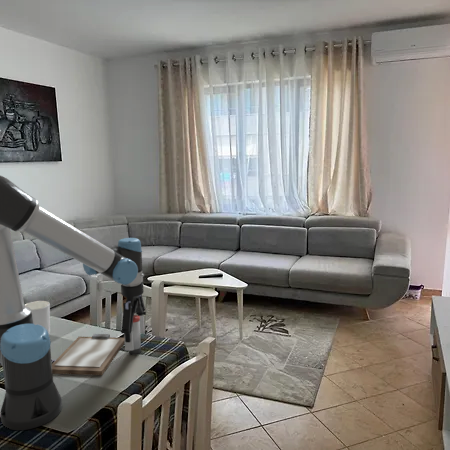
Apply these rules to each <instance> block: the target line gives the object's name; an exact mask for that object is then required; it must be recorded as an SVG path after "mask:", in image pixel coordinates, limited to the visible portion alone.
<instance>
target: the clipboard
mask: <svg viewBox="0 0 450 450" xmlns="http://www.w3.org/2000/svg"><path fill="white" fill-rule="evenodd" d="M124 346H125V340H124V337H113V336H111V335H110V334H109V333H107V334H106V333H105V334H104V333H93V334H92V336H78V337H76V339H75V340H74V341H73V342H72V343H71V344H70V345H69V346H68V347H67V348H66V349H65V350H64V351H63V352H62V353H61V354H60V355H59V356H58V358H56V359H55V360H54V361H53V362H52V374H54V375H77V376H78V375H79V376H80V375H81V376H103V375H104V374H105V372H106V371H107V369H108V368H109V366H110V365H111V364H112V362H113V361H114V360H115V358H116V356H117V355H118V354H119V352H120V350H121V349H122V348H123V347H124Z"/></svg>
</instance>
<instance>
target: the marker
mask: <svg viewBox="0 0 450 450" xmlns="http://www.w3.org/2000/svg"><path fill="white" fill-rule="evenodd" d="M132 331H133V347H134V350H133V351H130V350H128V351H129V354H130V355H132V356H133V355H134V356H135V355H136V356H137V355H139V354H141V353H142V344H141V342H142V341H141V333H140V316H138V315H137V314H134V318H133V325H132Z"/></svg>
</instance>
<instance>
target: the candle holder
mask: <svg viewBox="0 0 450 450" xmlns="http://www.w3.org/2000/svg"><path fill="white" fill-rule="evenodd" d="M24 305H25V306H27V307H29V308H30V309H31V312H32V317H33V323H34V324H35V325H37V324H38V325H41V326H43V327H44V328H46V329H47V331H48V333H49V335H50V333H51V309H50V308H51V303H50V302H49V301H46V300H35V301H30V302H27V303H26V304H25V303H24Z"/></svg>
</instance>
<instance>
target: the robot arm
mask: <svg viewBox="0 0 450 450" xmlns="http://www.w3.org/2000/svg"><path fill="white" fill-rule="evenodd" d="M11 230H12V231H13V232H20V231H23V232H24V233H25V234H27V235H29V236H31V237H33V238H35V239H37V240H39V241H41V242H42V243H44V244H46V245H48V246H50V247H52V248H54V249H55V250H56V251H59V252H61V253H63V254H65V255H67V256H68V257H70V258H72V259H74V260H76V262H79V263H81V264H82V267H83V270H84V273H86V274H87V275H89V276H93V275H95V276H97V275H98V274H101V275H103V276H104V277H106V278H109V279H110V280H112V281H114V282H116V283H117V284H119V285H120V293H121V296H122V297H125V298H126V301H125V302H123V305H122V307H123V308H122V320H121V330H120V332H121V334H123V338H124V340H125V343H124V351H129V350H130V351H133V350H134V347H133V331H132V325H133V318H134V315H138V316H140V334H144V333H145V318H144V315H145V316H146V315H147V312H146V307H145V303H144V298H143V294H144V292H145V291H144V283H143V282H144V277H145V273H143V258H142V257H143V253H142V252H143V250H142V243H141V240H140V239H139V238H136V237H124V238H121V239H119V240H117V246H114V247H108V246H107V245H105V244H103V243H102V242H100V241H98V240H97V239H95V238H93V237H92V236H90V235H89V234H88V233H85V232H83V231H82V230H80V229H78V228H77V227H75V226H73V225H72V224H71V223H68V222H67V221H66V220H64V219H62V218H60V217H58V216H57V215H55V214H54V213H52V212H50V211H49V210H47V209H45V208H44V207H42V206H41V205H39V200H38V199H36V198H35V197H33V196H31V195H30V194H28V193H27V192H25V191H24V190H23V189H21V188H20V187H19V186H18V185H16V184H15V183H14V182H12V181H11V180H10V179H8V178H7V177H4V176H3V175H0V364H1V366H2V371H3V379H4V388H5V393H4V397H3V401H2V405H1V408H0V422H2V423H1V425H2V424H3V425H4V426H5V427H4V426H3V425H2V426H3V427H4V428H6V427H7V428H6V429H8V428H9V429H8V430H13V431H26V430H31V429H35V428H38V427H41V426H43V425H45V424H47V423H50V422H51V421H52V420H54V419H55V418H56V417H58V415H59V414H60V413H61V411H62V408H63V402H62V401H63V400H62V396H61V394H60V392H59V390H58V388H57V385H56V383H55V382H54V375H53V374H52V364H53V362H52V352H51V351H52V350H51V349H52V348H51V345H52V344H51V342H52V341H51V338H50V334H49V333H48V331H47V329H46V328H44V327H43V326H41V325H38V324H37V325H35V324H34V323H33V317H32V312H31V309H30V308H29V307H27V306H25V302H24V301H25V300H24V296H23V291H22V290H23V289H22V287H21V286H22V284H21V281H20V280H21V279H20V274H19V270H18V265H17V259H16V253H15V248H14V244H13V243H14V242H13V237H12V232H11Z"/></svg>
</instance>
